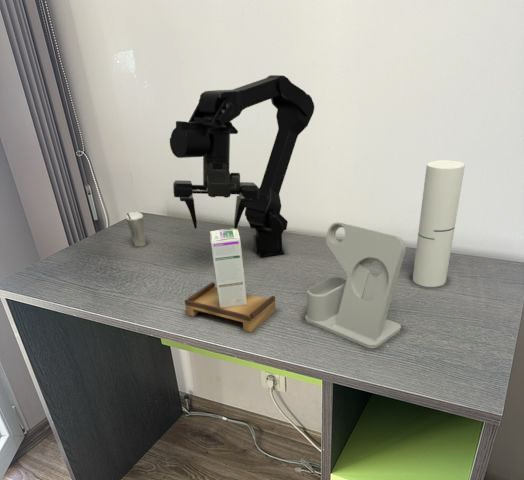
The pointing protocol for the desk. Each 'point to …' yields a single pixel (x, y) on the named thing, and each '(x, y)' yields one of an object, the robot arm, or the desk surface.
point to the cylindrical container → (437, 221)
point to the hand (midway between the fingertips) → (215, 228)
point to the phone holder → (358, 287)
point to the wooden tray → (247, 314)
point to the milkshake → (136, 228)
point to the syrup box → (228, 267)
